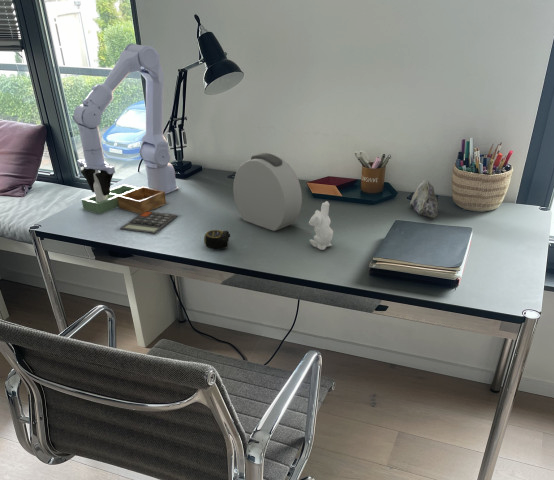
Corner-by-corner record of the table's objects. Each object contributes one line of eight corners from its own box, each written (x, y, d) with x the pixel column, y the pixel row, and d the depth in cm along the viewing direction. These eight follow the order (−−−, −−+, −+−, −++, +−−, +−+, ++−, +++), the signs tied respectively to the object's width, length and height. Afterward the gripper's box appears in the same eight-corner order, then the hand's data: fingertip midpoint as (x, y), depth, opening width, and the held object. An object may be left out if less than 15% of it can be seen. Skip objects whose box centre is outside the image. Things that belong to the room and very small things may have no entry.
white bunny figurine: (316, 239, 160) (317, 197, 153) (338, 243, 158) (341, 201, 151) (304, 250, 154) (305, 207, 147) (327, 254, 151) (329, 211, 144)
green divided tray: (125, 193, 192) (124, 184, 190) (142, 197, 189) (140, 188, 187) (83, 209, 180) (81, 199, 178) (100, 214, 176) (98, 204, 174)
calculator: (177, 214, 175) (154, 232, 163) (178, 217, 175) (155, 235, 164) (144, 210, 178) (119, 227, 166) (144, 213, 178) (119, 230, 167)
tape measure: (227, 251, 153) (227, 238, 151) (203, 251, 153) (201, 238, 151) (230, 241, 159) (230, 229, 157) (206, 241, 159) (205, 228, 157)
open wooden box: (144, 198, 188) (142, 186, 186) (166, 203, 184) (164, 191, 181) (119, 208, 181) (117, 195, 178) (141, 214, 176) (139, 201, 174)
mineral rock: (433, 224, 169) (438, 191, 163) (398, 217, 173) (403, 185, 168) (445, 210, 178) (450, 178, 172) (412, 205, 183) (416, 173, 177)
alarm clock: (301, 227, 167) (303, 159, 155) (284, 234, 163) (285, 164, 151) (251, 210, 179) (249, 145, 167) (234, 216, 174) (231, 150, 163)
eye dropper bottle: (114, 205, 183) (108, 167, 175) (102, 211, 178) (95, 172, 171) (104, 203, 184) (97, 166, 177) (92, 208, 180) (84, 170, 173)
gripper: (66, 148, 171) (75, 192, 179) (99, 155, 165) (107, 200, 173) (84, 142, 176) (92, 186, 184) (116, 149, 169) (124, 194, 177)
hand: (100, 193), depth 179 cm, fingers closed on eye dropper bottle, 4 cm apart
